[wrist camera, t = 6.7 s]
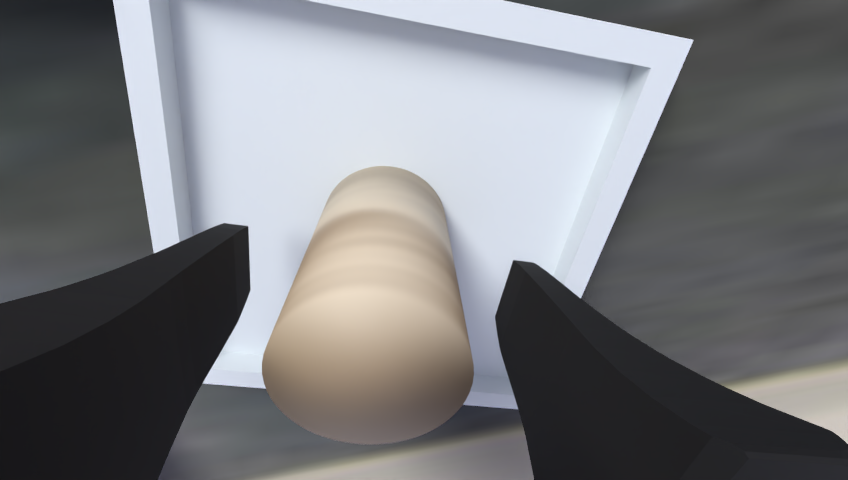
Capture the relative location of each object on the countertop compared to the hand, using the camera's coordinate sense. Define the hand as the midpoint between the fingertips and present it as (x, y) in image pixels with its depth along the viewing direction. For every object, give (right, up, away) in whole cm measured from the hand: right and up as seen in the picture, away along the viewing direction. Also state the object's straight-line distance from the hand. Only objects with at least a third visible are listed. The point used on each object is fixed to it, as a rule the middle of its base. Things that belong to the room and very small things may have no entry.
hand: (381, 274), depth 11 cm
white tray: (0, +2, +3) cm, 3 cm away
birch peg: (0, +1, +2) cm, 3 cm away
